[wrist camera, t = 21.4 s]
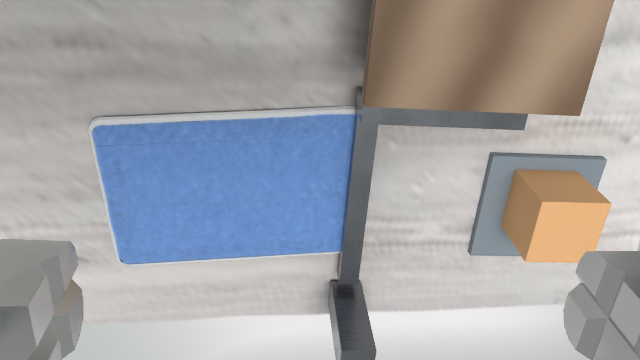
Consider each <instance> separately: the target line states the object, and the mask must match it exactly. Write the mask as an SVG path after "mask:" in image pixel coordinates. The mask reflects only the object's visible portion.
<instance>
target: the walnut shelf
mask: <svg viewBox="0 0 640 360" xmlns="http://www.w3.org/2000/svg"><path fill="white" fill-rule="evenodd" d="M613 2H614V0H372V7H371V16H370V25H369V34H368V43H367V52H366V61H365V70H364V79H363V89H362V98H361V100H362V103H363V105H364V107H382V108H406V109H429V110H452V111H476V112H499V113H522V114H546V115H569V116H580V113H581V110H582V107H583V103H584V100H585V97H586V93H587V90H588V86H589V83H590V80H591V76H592V73H593V70H594V66H595V63H596V60H597V56H598V53H599V49H600V46H601V43H602V39H603V36H604V33H605V29H606V26H607V22H608V19H609V16H610V12H611V9H612V6H613Z"/></svg>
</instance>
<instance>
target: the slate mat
mask: <svg viewBox="0 0 640 360" xmlns="http://www.w3.org/2000/svg"><path fill="white" fill-rule="evenodd" d="M606 161H607V160H606V159H605V158H604V157H602V156H574V155H545V154H517V153H491V154H490V158H489V162H488V167H487V171H486V176H485V180H484V184H483V189H482V193H481V197H480V202H479V206H478V211H477V215H476V219H475V224H474V228H473V232H472V237H471V241H470V246H469V250H468V252H469V254H470V255H480V256H521V255H520V253H519V252H518V250H517V249H516V247H515V246H514V244H513V243H512V241H511V240H510V238H509V237H508V235H507V234H506V232H505V231H504V229H503V228H502V226H501V223H502V219H503V215H504V211H505V207H506V203H507V199H508V195H509V191H510V187H511V183H512V179H513V175H514V171H515V169H525V170H555V171H578V172H579V173H580V174H581V175H582V176H583V177H584V178H585V179H586V180H587V181H588V182H589V183H590V184H591V185H592V186H594V187H595V188H596V189H597V188H598V185H599V182H600V179H601V176H602V173H603V170H604V167H605V164H606Z"/></svg>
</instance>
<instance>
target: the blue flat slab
mask: <svg viewBox="0 0 640 360" xmlns="http://www.w3.org/2000/svg"><path fill="white" fill-rule="evenodd" d="M354 123H355V107H354V106H334V107H317V108H300V109H280V110H258V111H236V112H211V113H188V114H167V115H142V116H116V117H98V118H95V119H93V120H92V121H91V122H90V124H89V129H88V133H89V138H90V142H91V147H92V151H93V156H94V160H95V165H96V169H97V174H98V178H99V183H100V187H101V192H102V196H103V201H104V206H105V210H106V214H107V219H108V224H109V228H110V233H111V238H112V243H113V247H114V251H115V256H116V259H117V261H118V262H119V263H120V264H122V265H124V266H144V265H161V264H176V263H192V262H209V261H226V260H242V259H258V258H274V257H292V256H308V255H323V254H340V252H341V243H342V234H343V225H344V216H345V206H346V197H347V188H348V179H349V169H350V160H351V151H352V142H353V132H354Z"/></svg>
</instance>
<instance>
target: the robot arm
mask: <svg viewBox="0 0 640 360" xmlns="http://www.w3.org/2000/svg"><path fill="white" fill-rule="evenodd" d="M77 266H78V262H77V257H76V251H75V247H74V246H73V244H72V243H71V242H70V241H48V240H21V239H1V240H0V360H62V358H64V357H65V356H66V355H68V354H69V353H71V352H72V351H74V349H75V346H76V344H77V341H78V339H79V336H80V332H81V326H82V321H83V296H82V289H81V288H80V287H79V286H78V285H77V284H76V283H75V282H74V281H73V280H72V277H73V274H74V272H75V270H76V268H77ZM576 274H577V276H578V278H579V280H580V282H581V283H580V284H579V285H578V286H576V287H575V288H574V289H573V290H572V291H571V292H570V293H568V296H567V300H566V303H565V307H564V326H565V329H566V332H567V335H568V338H569V340H570V341H571V343H572V345H573V346H574V348H575V349H576V350H577V351H578V352H580V353H581V354H583V355H584V356H586V357H587V358H589V359H591V360H640V251H586V253H585V254H584V255H583V256H582V257H581V259H580V261H579V263H578V266H577V269H576Z"/></svg>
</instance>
